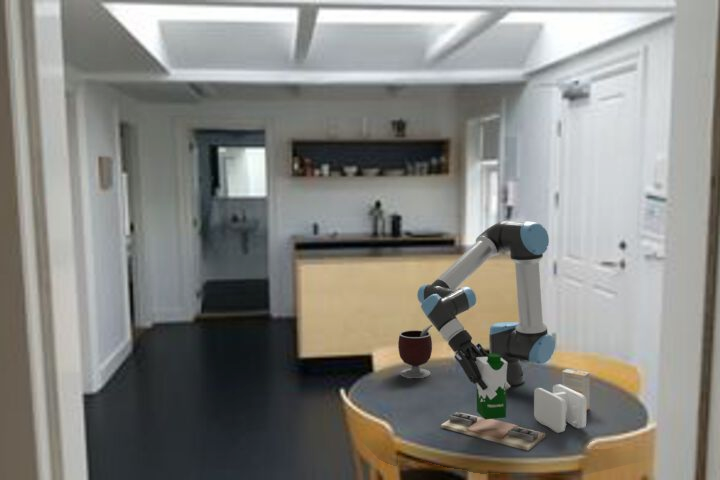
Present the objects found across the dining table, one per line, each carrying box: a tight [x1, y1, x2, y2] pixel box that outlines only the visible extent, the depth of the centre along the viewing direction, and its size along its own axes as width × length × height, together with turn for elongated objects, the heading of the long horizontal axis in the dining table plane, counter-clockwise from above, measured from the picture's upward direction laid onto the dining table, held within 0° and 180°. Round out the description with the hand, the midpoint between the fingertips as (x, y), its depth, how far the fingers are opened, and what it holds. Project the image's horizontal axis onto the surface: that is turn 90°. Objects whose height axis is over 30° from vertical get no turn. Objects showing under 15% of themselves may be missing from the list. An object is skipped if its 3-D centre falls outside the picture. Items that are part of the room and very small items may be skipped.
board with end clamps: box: [440, 411, 546, 452], centre depth 202 cm, size 30×13×3 cm, turn 51°
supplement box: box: [561, 368, 591, 412], centre depth 220 cm, size 8×5×13 cm, turn 45°
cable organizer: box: [533, 383, 587, 434], centre depth 206 cm, size 15×11×12 cm
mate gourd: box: [397, 324, 434, 379], centre depth 262 cm, size 16×14×20 cm
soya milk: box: [475, 353, 508, 420], centre depth 200 cm, size 9×9×20 cm
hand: (500, 392), depth 198 cm, fingers closed on soya milk, 9 cm apart
